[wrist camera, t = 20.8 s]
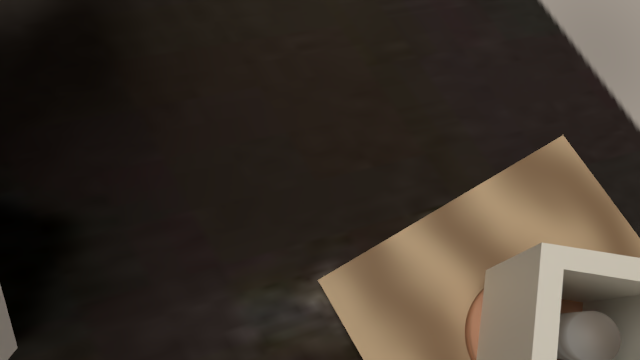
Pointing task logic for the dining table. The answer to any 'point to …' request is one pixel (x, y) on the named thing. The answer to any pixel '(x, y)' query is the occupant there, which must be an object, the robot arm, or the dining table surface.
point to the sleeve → (556, 300)
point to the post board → (480, 263)
